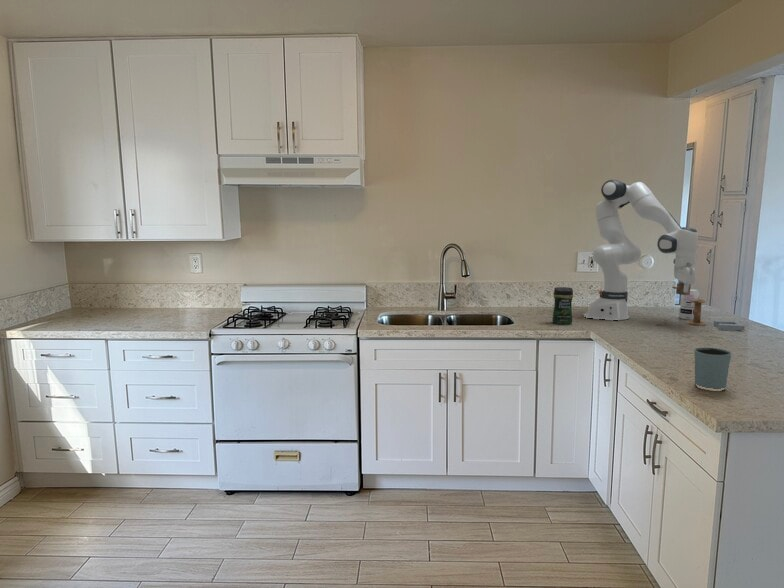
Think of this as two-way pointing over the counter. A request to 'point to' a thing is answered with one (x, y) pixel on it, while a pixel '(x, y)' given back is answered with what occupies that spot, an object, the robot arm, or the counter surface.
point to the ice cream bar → (681, 289)
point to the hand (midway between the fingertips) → (683, 290)
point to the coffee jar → (562, 305)
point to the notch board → (728, 325)
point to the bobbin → (697, 312)
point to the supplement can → (688, 305)
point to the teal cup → (711, 367)
